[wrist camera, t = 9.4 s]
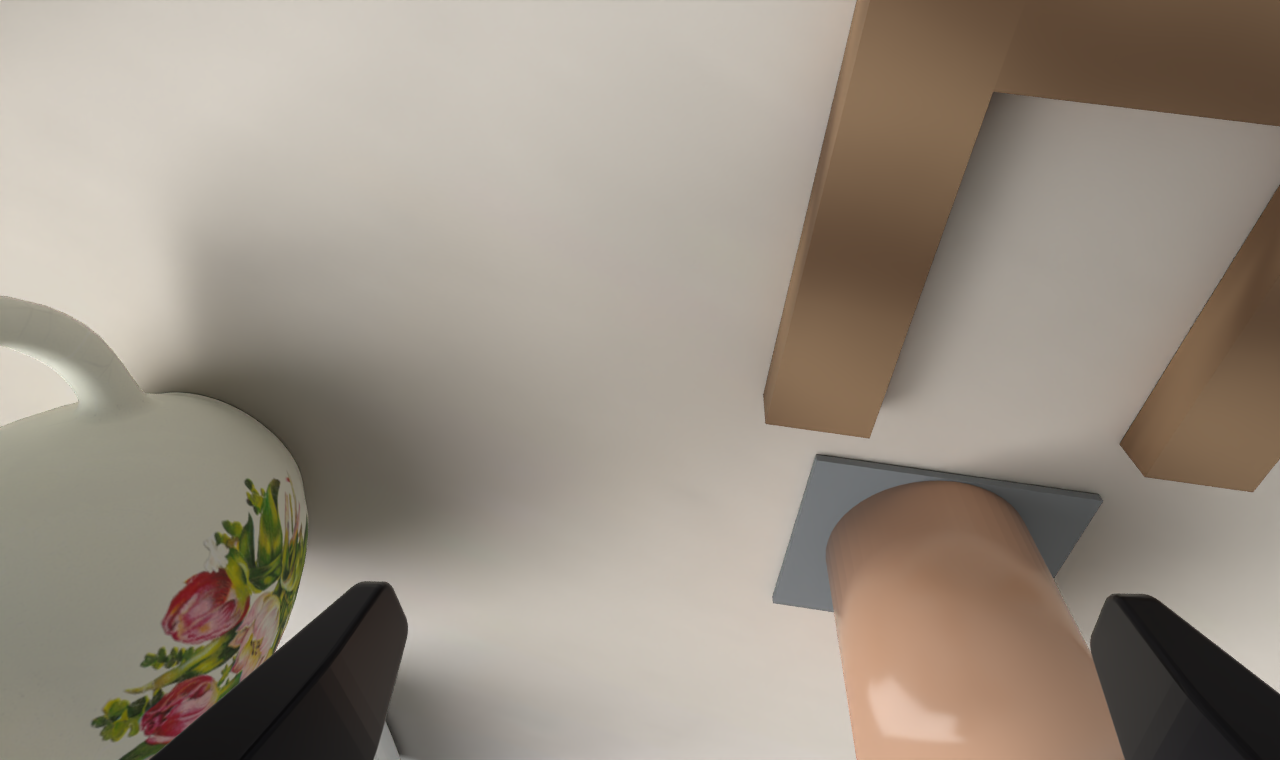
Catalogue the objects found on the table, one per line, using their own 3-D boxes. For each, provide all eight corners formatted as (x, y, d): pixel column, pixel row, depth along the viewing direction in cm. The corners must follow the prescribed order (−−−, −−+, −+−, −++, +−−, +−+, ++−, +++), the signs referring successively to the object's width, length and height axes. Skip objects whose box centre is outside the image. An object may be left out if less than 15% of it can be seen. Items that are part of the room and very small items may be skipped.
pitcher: (316, 230, 20) (-260, 640, 8) (383, 625, 30) (165, 1062, 18) (-48, 180, 20) (-1090, 505, 9) (138, 587, 30) (-227, 990, 18)
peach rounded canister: (808, 499, 23) (838, 711, 16) (1024, 463, 21) (1150, 686, 15) (856, 678, 27) (894, 895, 21) (1035, 660, 26) (1134, 892, 19)
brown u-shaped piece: (879, -93, 14) (894, -96, 13) (1568, -16, 14) (1653, -11, 12) (763, 394, 21) (765, 423, 20) (1220, 458, 21) (1253, 491, 19)
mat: (815, 454, 22) (816, 460, 22) (1098, 494, 22) (1103, 500, 21) (772, 596, 26) (772, 602, 26) (1011, 632, 26) (1014, 639, 25)
